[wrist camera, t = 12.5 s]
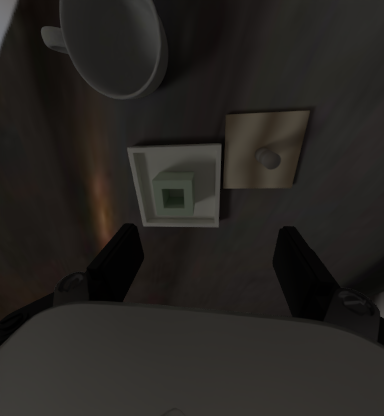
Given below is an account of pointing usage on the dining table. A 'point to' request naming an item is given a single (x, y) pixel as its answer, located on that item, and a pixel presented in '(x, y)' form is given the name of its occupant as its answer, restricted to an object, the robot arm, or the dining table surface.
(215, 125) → the dining table surface
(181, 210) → the green hollow square block
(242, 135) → the wooden peg base
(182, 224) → the tray
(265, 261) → the dining table surface
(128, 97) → the teacup
